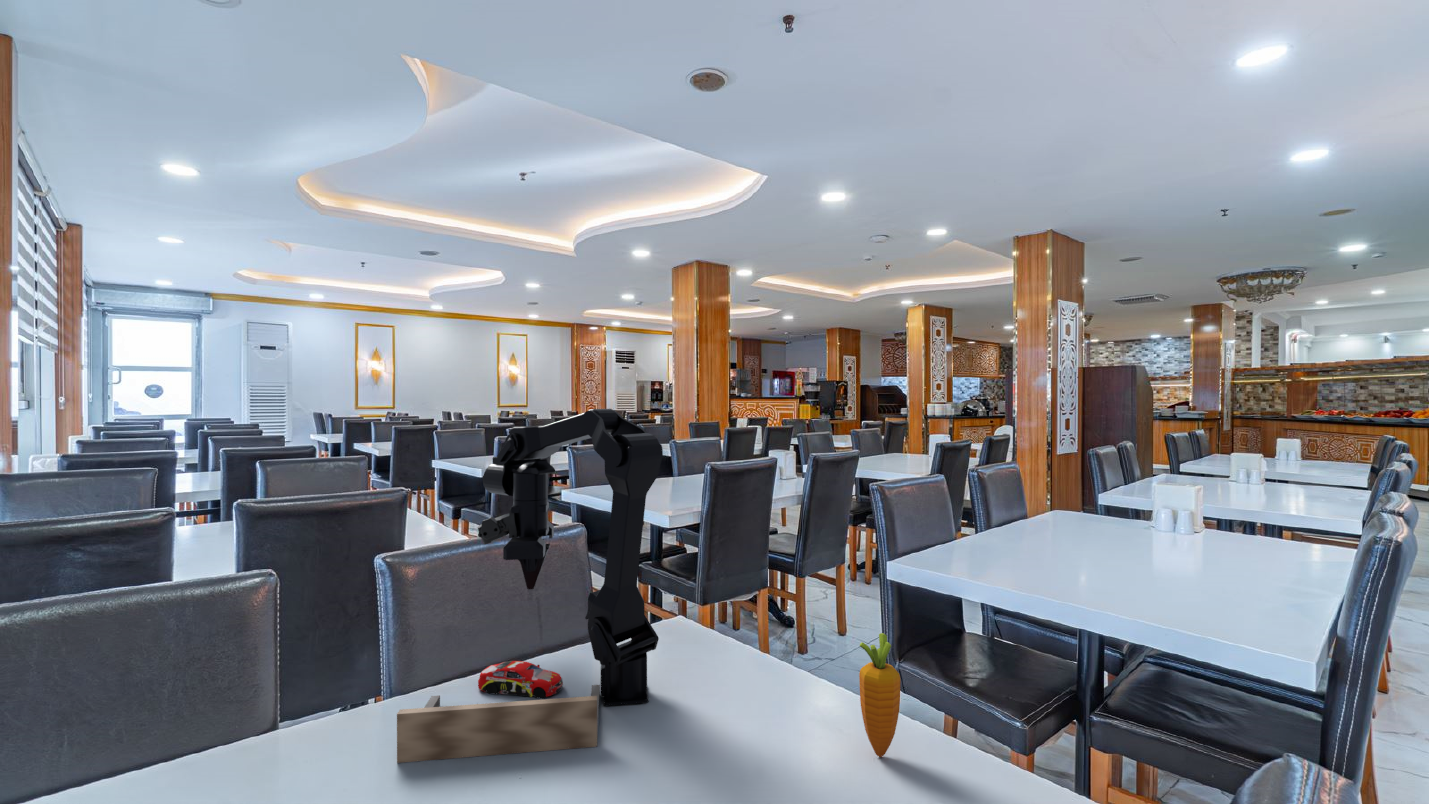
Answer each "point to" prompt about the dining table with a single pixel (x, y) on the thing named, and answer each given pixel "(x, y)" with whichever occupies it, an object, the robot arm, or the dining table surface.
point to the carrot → (879, 696)
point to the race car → (519, 680)
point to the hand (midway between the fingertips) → (530, 588)
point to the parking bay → (497, 728)
